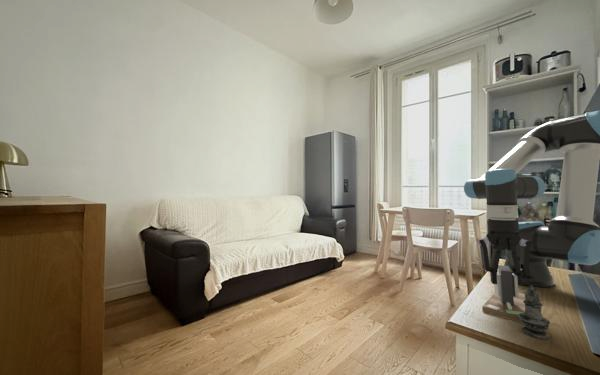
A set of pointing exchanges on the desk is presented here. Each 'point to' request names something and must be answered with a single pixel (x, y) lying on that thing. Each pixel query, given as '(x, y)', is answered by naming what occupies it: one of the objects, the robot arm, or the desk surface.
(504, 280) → the grey block
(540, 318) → the dark grey chess piece
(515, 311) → the dial marks
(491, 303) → the board
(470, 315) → the desk surface
